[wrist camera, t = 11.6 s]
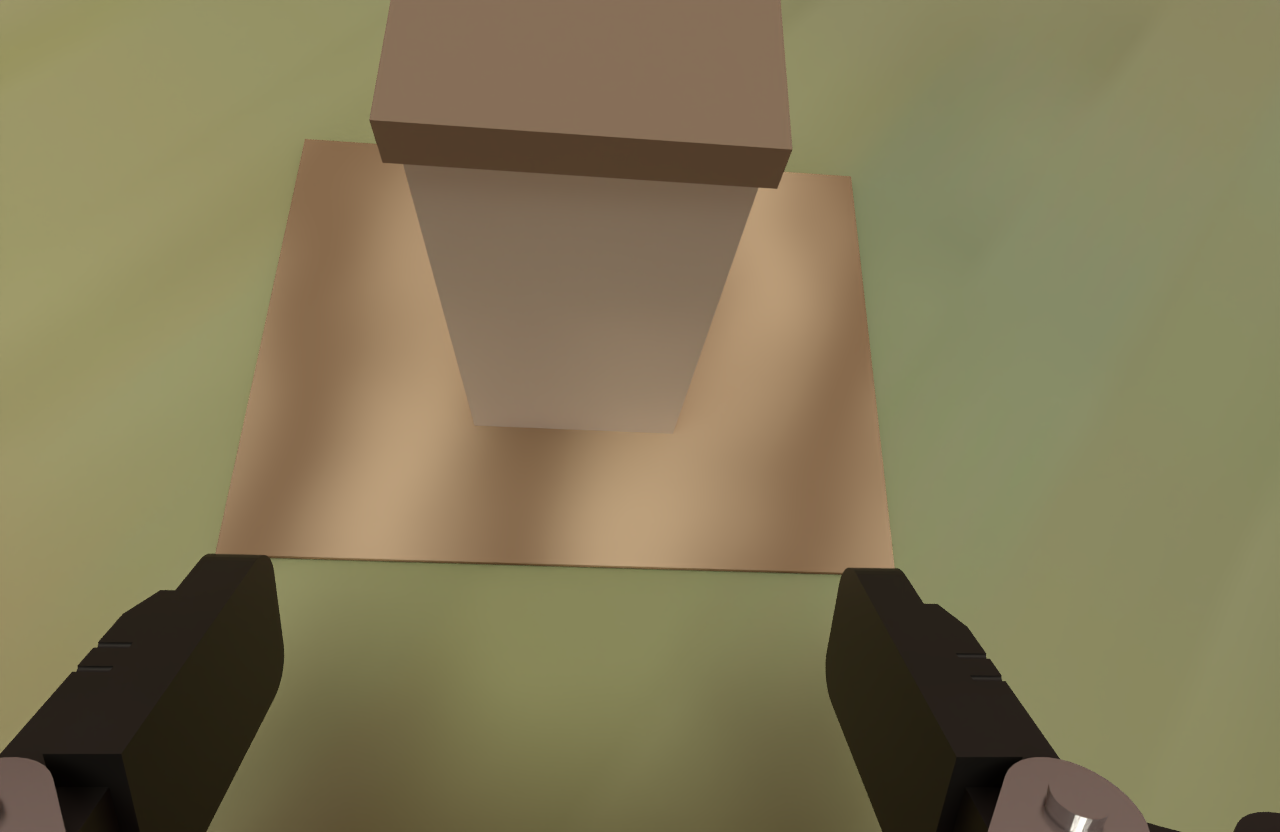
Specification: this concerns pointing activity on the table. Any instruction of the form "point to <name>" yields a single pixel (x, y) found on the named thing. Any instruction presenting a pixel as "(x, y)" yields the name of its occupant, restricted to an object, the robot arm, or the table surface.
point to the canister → (582, 188)
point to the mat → (556, 458)
